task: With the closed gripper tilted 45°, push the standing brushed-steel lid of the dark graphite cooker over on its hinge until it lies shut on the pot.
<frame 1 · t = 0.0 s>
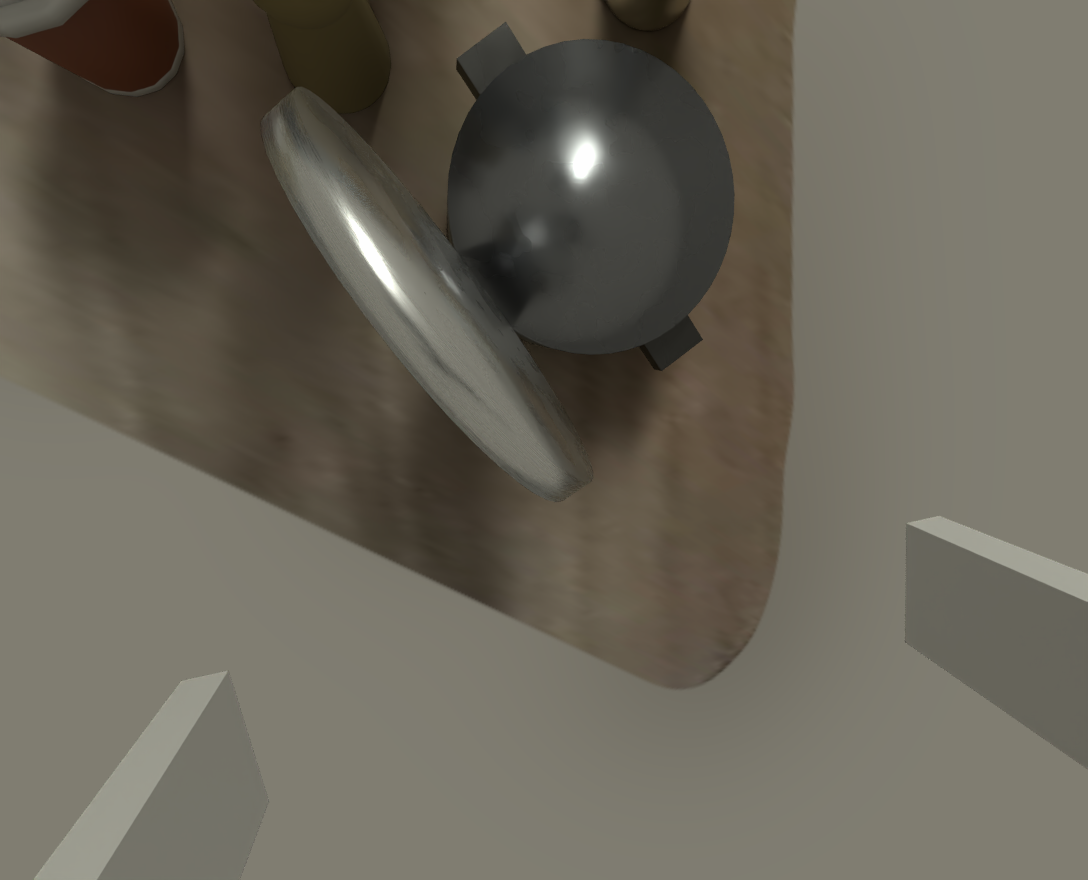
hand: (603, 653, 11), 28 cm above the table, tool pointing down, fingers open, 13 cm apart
cork: (337, 57, 32), on the table
coffee cup: (121, 32, 30), on the table
lid: (446, 317, 20), point 16 cm above the table, hinge at 100.0°
cooker pot: (564, 231, 36), on the table
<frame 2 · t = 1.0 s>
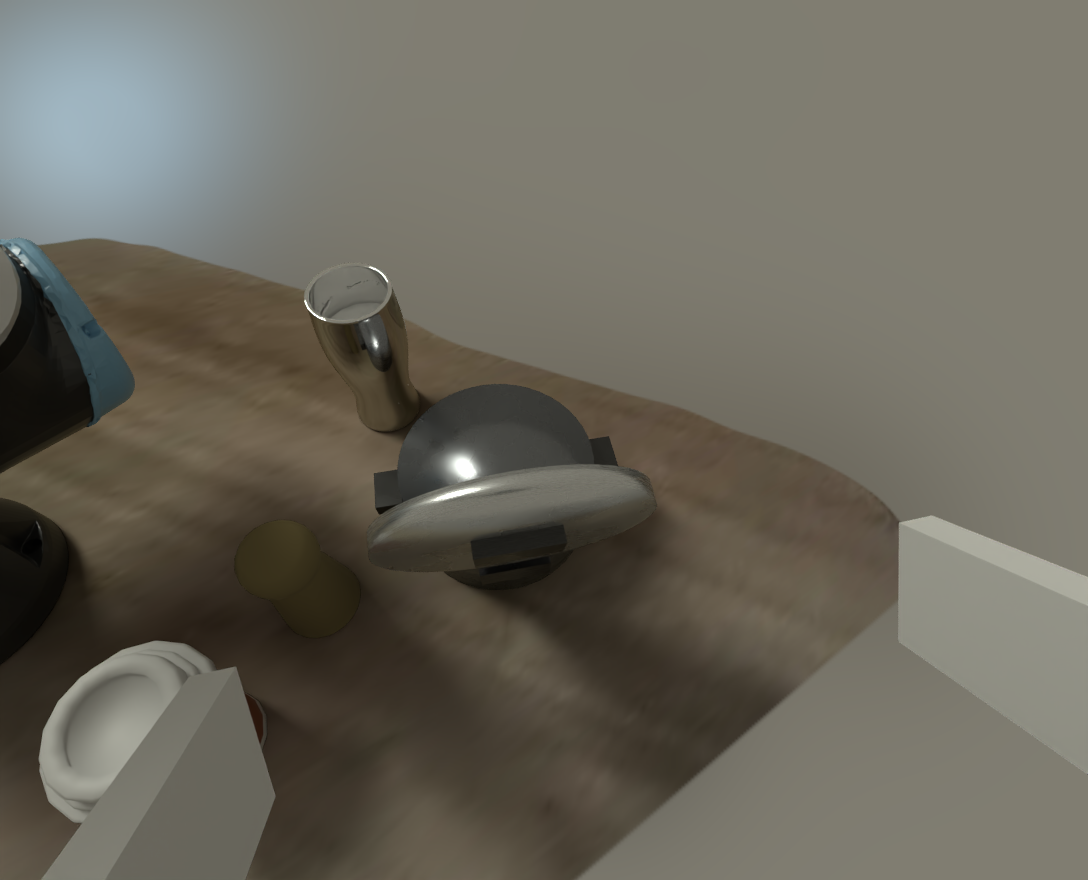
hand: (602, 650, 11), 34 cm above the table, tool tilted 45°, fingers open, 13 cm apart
cork: (323, 600, 45), on the table
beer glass: (389, 407, 55), on the table
coffee cup: (221, 740, 39), on the table
lid: (516, 537, 31), point 16 cm above the table, hinge at 100.0°
cooker pot: (500, 506, 49), on the table
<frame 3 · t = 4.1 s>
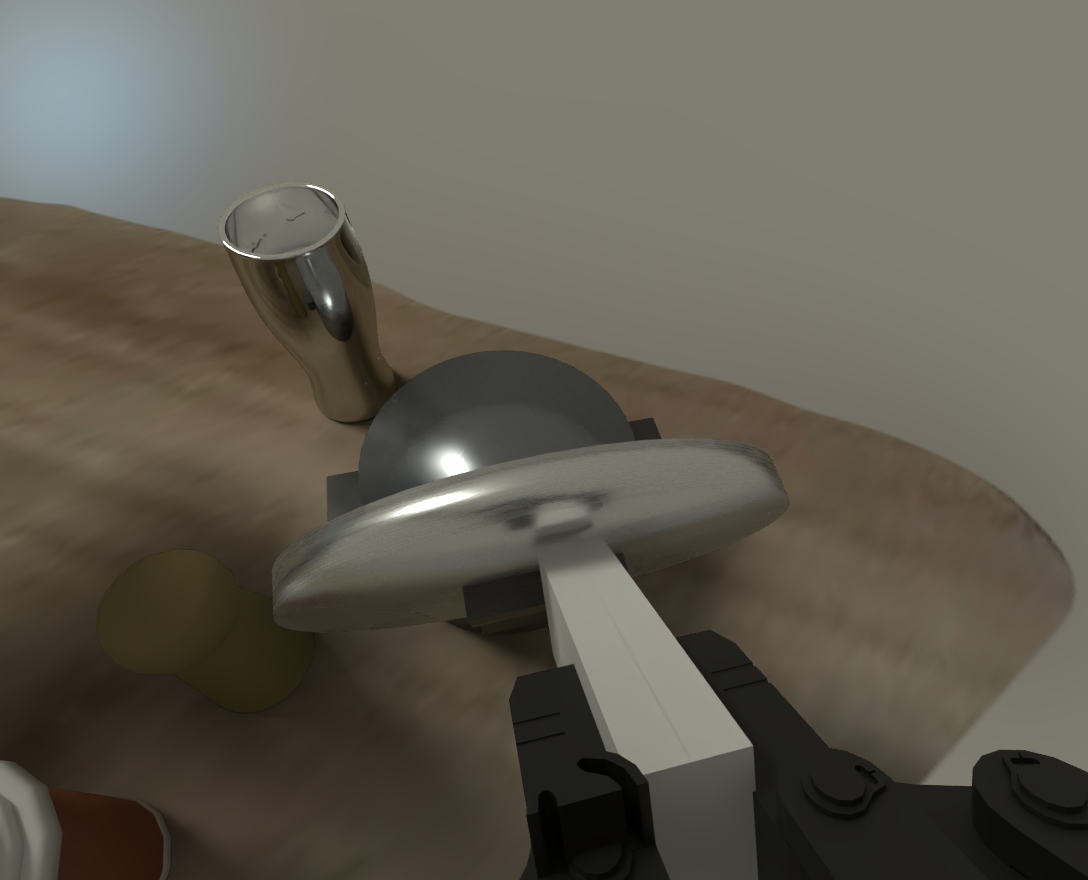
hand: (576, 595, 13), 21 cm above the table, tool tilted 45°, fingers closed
cork: (261, 655, 32), on the table
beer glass: (357, 392, 42), on the table
coffee cup: (101, 878, 26), on the table
lid: (540, 574, 18), point 16 cm above the table, hinge at 99.8°, touching gripper
cooker pot: (505, 517, 37), on the table
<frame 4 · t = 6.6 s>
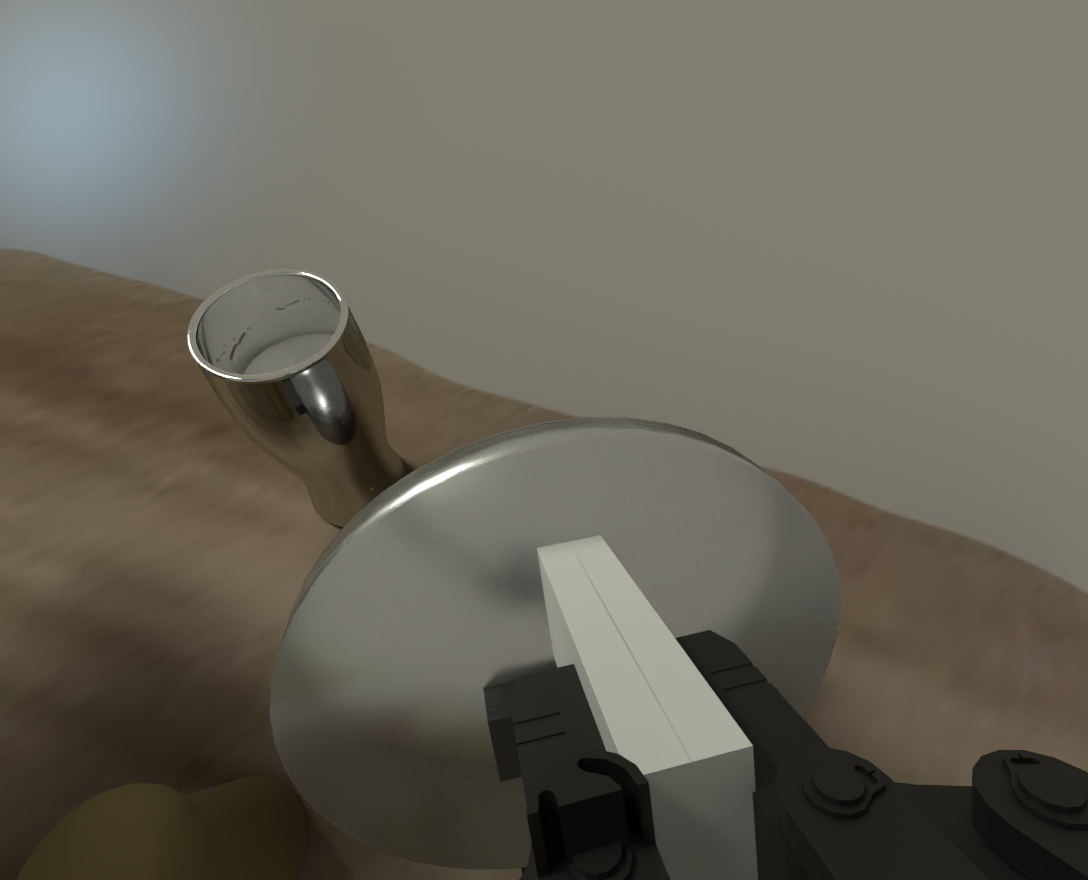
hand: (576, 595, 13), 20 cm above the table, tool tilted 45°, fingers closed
cork: (242, 850, 26), on the table
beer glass: (361, 487, 36), on the table
lid: (579, 700, 15), point 15 cm above the table, hinge at 58.6°, touching gripper
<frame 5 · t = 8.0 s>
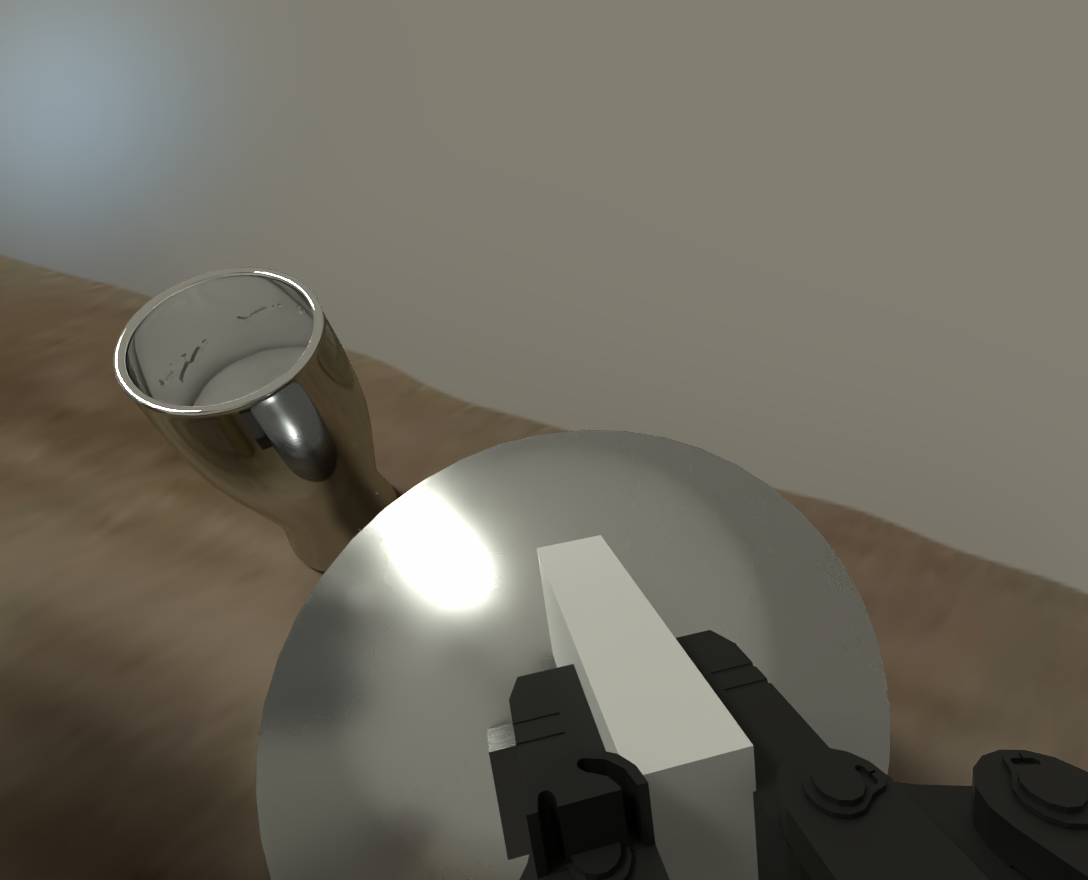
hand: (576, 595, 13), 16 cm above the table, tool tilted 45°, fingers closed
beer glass: (348, 522, 31), on the table
lid: (599, 762, 13), point 13 cm above the table, hinge at 32.3°, touching gripper
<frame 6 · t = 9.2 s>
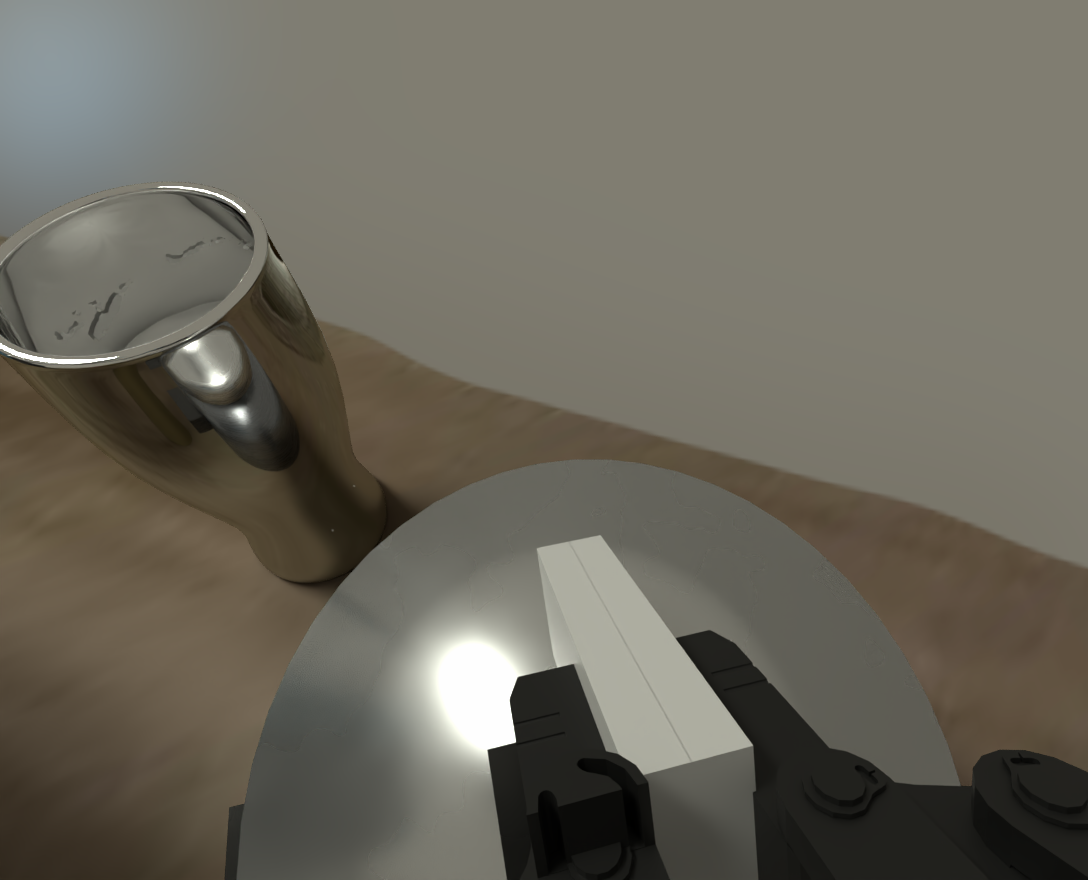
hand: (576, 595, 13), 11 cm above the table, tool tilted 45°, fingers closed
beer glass: (323, 522, 26), on the table
lid: (615, 796, 12), point 10 cm above the table, hinge at 4.7°, touching gripper
cooker pot: (577, 783, 21), on the table
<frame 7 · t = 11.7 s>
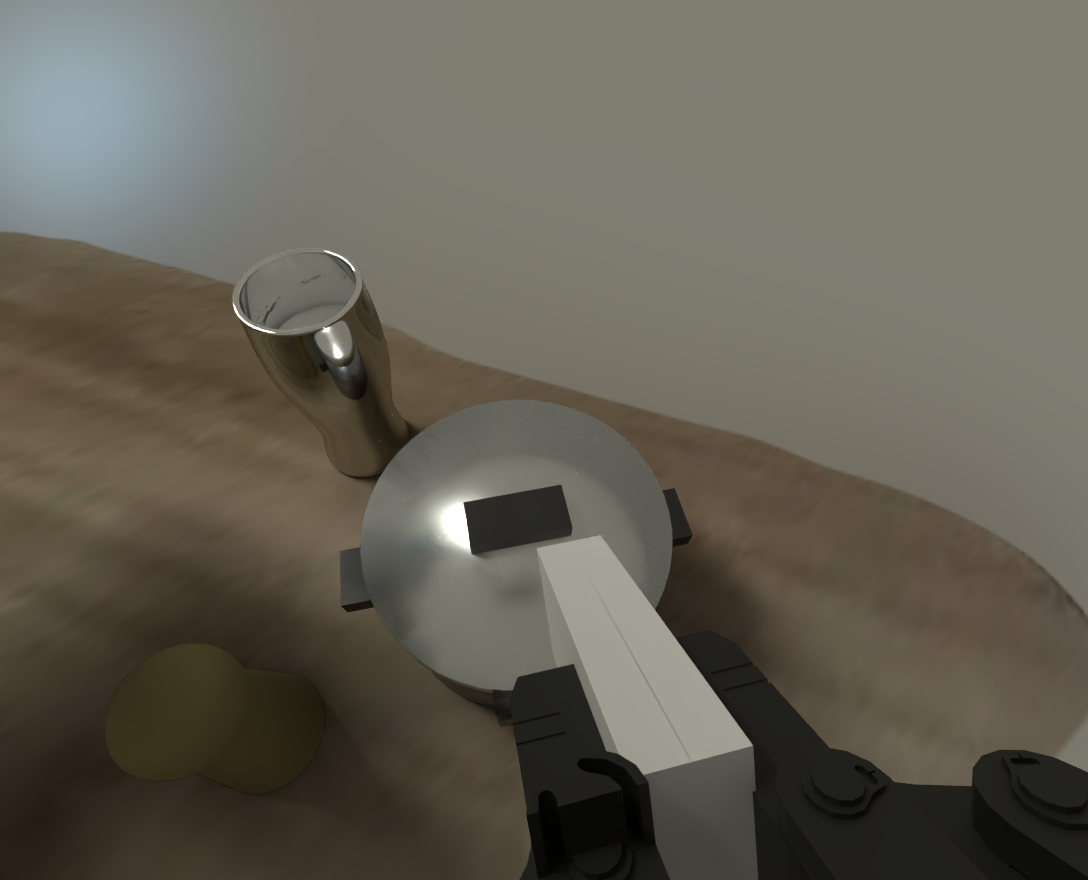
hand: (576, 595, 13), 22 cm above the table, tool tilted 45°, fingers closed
cork: (271, 730, 31), on the table
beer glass: (369, 443, 42), on the table
lid: (518, 529, 28), point 9 cm above the table, hinge at -0.3°
cooker pot: (520, 582, 36), on the table
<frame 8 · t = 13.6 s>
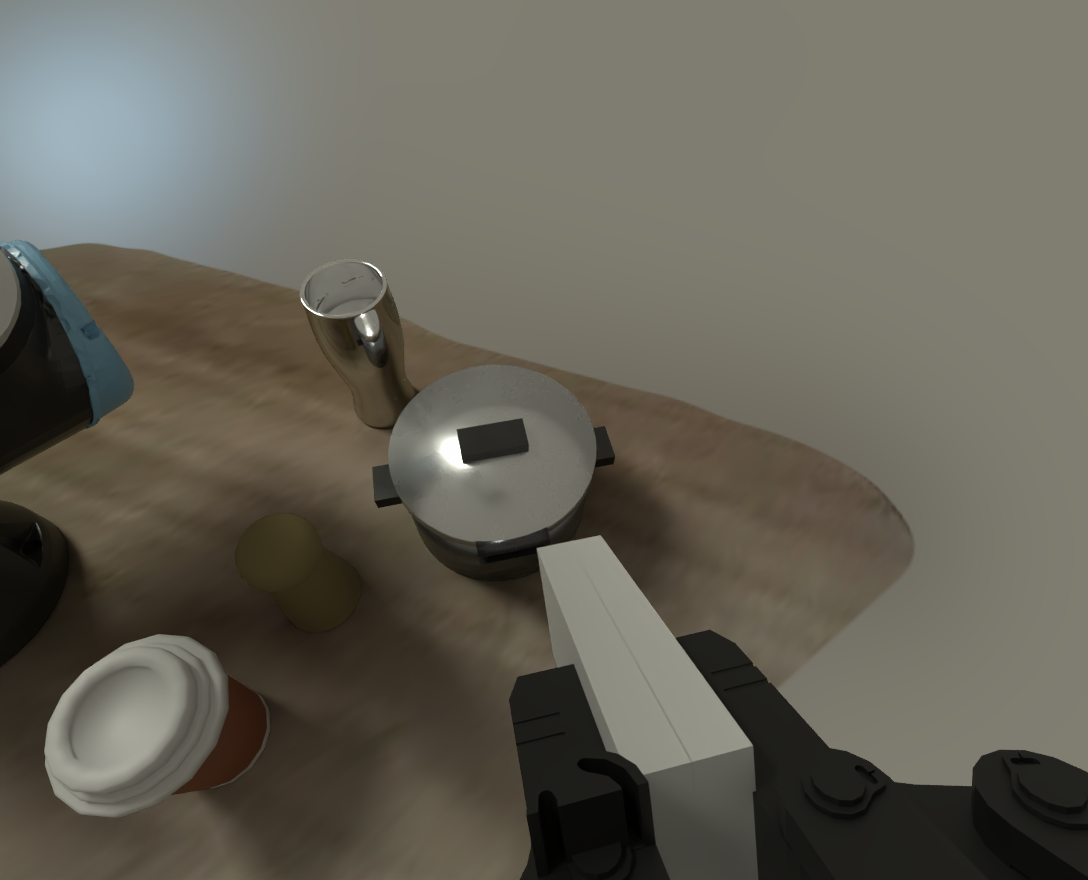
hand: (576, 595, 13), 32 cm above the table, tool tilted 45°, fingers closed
cork: (324, 594, 45), on the table
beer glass: (386, 404, 55), on the table
coffee cup: (224, 735, 39), on the table
lid: (493, 448, 42), point 9 cm above the table, hinge at -0.3°
cooker pot: (499, 499, 50), on the table
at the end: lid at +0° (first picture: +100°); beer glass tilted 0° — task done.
